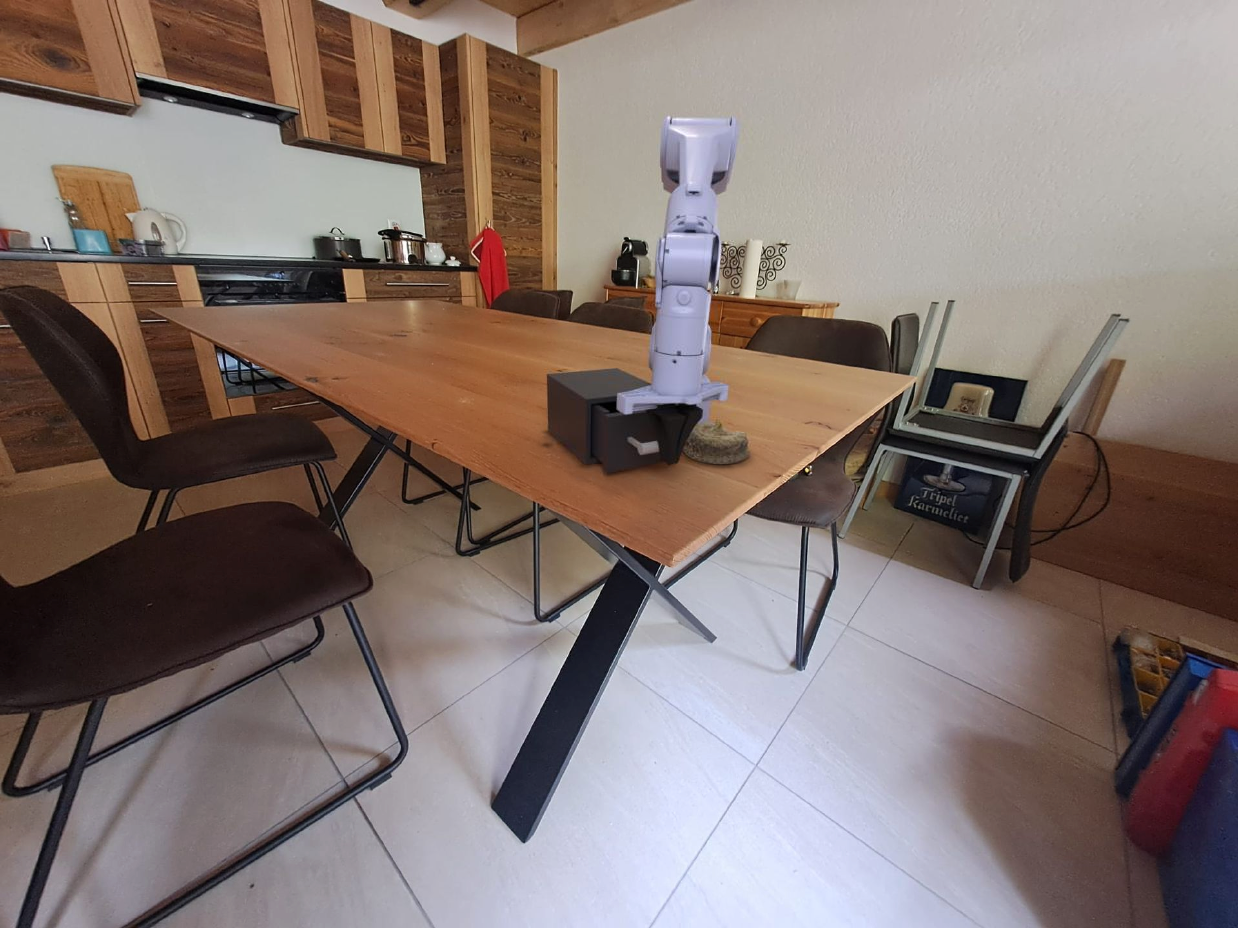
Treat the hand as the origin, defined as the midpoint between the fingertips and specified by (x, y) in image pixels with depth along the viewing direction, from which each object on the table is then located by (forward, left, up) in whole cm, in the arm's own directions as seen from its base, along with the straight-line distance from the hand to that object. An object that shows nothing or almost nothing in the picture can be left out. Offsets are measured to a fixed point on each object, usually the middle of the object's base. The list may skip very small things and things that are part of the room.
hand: (669, 461), depth 59 cm
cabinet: (0, -18, -4) cm, 19 cm away
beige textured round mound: (-14, -7, -4) cm, 16 cm away
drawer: (0, -10, -3) cm, 11 cm away
